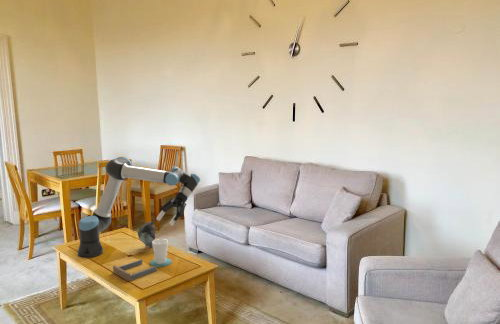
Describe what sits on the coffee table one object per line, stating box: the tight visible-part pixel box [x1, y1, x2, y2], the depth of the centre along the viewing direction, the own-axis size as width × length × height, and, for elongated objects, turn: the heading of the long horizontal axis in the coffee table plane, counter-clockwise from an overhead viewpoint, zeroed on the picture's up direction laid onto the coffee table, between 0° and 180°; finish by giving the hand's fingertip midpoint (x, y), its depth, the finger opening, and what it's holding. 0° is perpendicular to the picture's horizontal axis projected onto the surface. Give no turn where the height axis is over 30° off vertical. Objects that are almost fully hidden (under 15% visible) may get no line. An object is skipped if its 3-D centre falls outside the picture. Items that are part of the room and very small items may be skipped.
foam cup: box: [152, 238, 169, 264], centre depth 229 cm, size 10×9×13 cm
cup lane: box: [112, 259, 158, 282], centre depth 217 cm, size 16×18×4 cm
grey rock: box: [137, 219, 158, 251], centre depth 254 cm, size 14×15×18 cm
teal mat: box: [149, 257, 173, 268], centre depth 230 cm, size 13×13×1 cm
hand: (163, 222), depth 234 cm, fingers open, 13 cm apart
